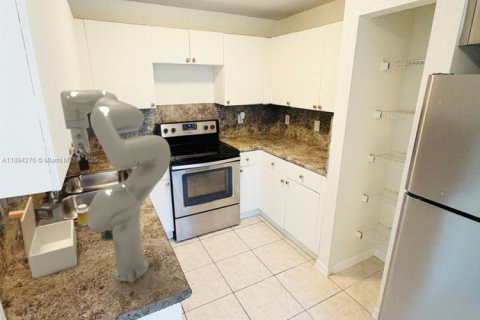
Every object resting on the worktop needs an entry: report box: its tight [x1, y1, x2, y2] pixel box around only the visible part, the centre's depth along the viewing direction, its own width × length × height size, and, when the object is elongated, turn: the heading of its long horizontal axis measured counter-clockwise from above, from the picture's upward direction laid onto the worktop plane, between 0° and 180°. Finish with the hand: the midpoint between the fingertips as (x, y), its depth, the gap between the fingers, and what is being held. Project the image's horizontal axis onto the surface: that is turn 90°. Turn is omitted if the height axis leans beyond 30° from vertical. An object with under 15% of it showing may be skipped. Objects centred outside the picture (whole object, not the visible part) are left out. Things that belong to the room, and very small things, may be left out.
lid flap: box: [8, 196, 37, 258], centre depth 100 cm, size 24×14×6 cm
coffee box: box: [33, 202, 66, 227], centre depth 121 cm, size 9×6×16 cm
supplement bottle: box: [76, 203, 89, 227], centre depth 133 cm, size 6×6×10 cm
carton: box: [27, 219, 78, 280], centre depth 108 cm, size 24×14×10 cm, turn 32°
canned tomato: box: [100, 227, 114, 241], centre depth 122 cm, size 8×8×11 cm
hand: (84, 166), depth 103 cm, fingers open, 9 cm apart
